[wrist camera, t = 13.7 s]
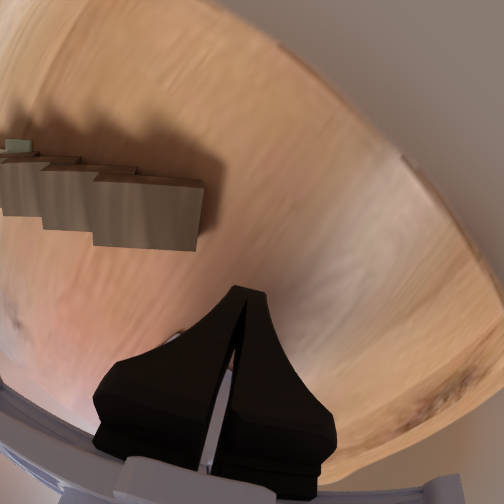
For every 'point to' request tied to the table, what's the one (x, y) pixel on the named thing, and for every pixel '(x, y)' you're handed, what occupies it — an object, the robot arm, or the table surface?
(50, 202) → the domino
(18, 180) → the domino
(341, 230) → the table surface
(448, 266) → the table surface
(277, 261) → the table surface
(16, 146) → the pad
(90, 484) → the robot arm
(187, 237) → the domino
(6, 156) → the domino
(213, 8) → the table surface
